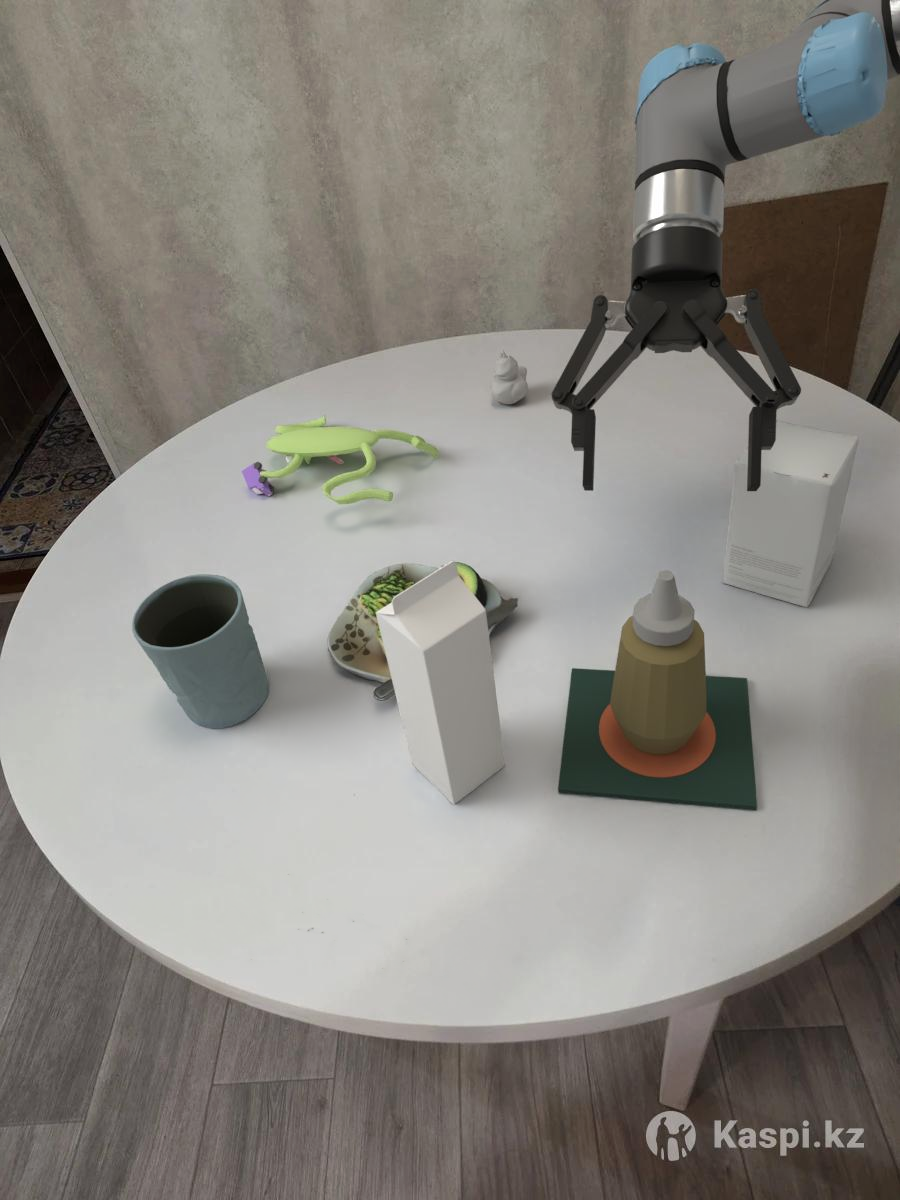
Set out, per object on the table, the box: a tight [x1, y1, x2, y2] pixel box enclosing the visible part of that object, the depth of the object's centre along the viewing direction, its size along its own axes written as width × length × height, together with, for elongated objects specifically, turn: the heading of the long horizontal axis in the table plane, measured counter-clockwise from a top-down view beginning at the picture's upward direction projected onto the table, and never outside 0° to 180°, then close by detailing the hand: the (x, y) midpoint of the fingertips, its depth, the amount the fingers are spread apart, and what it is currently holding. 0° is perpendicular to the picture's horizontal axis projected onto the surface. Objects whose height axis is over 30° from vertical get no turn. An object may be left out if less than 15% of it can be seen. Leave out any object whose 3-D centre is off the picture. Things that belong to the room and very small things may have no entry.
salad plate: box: [326, 561, 518, 702], centre depth 88 cm, size 19×18×5 cm
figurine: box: [241, 414, 440, 505], centre depth 112 cm, size 18×27×6 cm
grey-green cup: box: [131, 573, 270, 730], centre depth 82 cm, size 10×10×12 cm
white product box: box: [722, 420, 860, 608], centre depth 85 cm, size 9×9×15 cm
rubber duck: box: [490, 349, 529, 405], centre depth 121 cm, size 5×7×8 cm
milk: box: [376, 560, 506, 805], centre depth 69 cm, size 6×6×22 cm
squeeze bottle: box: [610, 569, 707, 755], centre depth 70 cm, size 8×8×18 cm
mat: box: [557, 667, 758, 811], centre depth 76 cm, size 16×14×1 cm
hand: (669, 488), depth 73 cm, fingers open, 13 cm apart
